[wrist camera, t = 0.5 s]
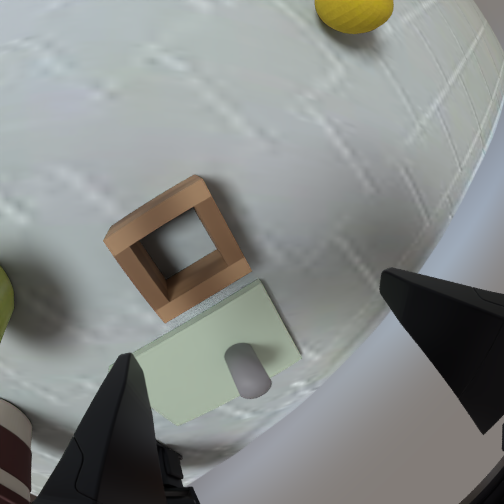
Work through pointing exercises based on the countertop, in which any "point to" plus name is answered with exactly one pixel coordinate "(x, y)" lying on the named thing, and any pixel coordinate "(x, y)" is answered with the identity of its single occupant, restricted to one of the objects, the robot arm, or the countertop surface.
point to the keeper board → (217, 356)
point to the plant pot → (5, 301)
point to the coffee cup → (14, 455)
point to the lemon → (354, 14)
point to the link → (194, 276)
